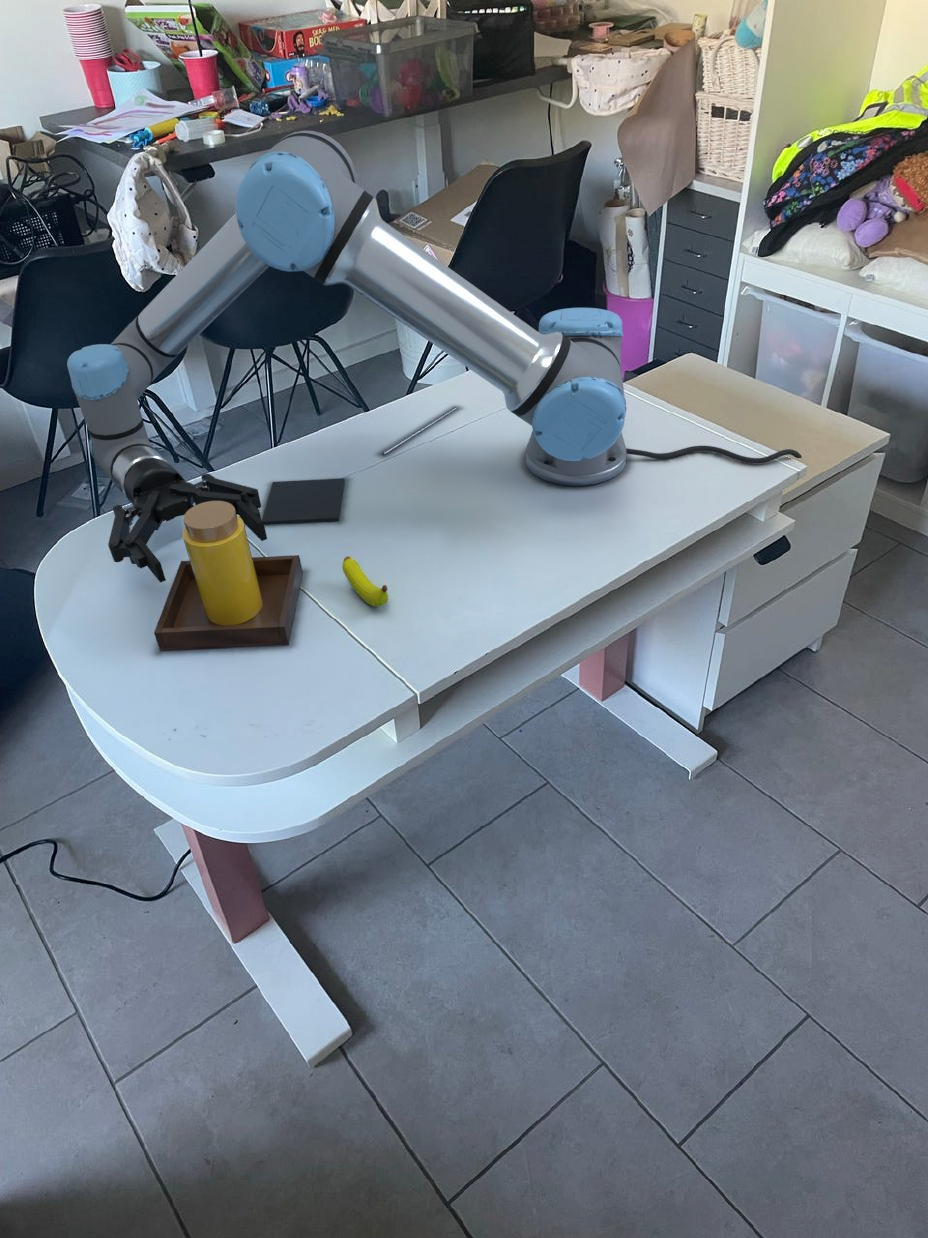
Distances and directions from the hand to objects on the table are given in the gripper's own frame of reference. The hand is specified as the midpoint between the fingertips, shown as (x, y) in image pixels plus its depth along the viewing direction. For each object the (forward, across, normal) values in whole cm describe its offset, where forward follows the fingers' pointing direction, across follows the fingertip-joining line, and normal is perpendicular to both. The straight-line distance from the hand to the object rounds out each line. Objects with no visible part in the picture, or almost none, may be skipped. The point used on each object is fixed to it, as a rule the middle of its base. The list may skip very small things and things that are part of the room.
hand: (212, 551), depth 112 cm
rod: (-22, -45, -8) cm, 51 cm away
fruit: (+11, -15, -8) cm, 20 cm away
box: (+2, 0, -8) cm, 8 cm away
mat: (-15, -19, -8) cm, 26 cm away
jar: (+2, 0, -7) cm, 8 cm away
